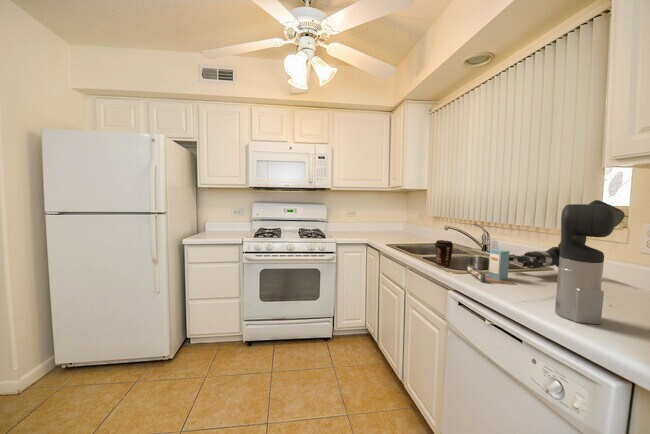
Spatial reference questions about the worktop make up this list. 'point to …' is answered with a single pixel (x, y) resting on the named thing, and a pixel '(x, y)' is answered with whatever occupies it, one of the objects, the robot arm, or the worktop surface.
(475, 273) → the shelf board
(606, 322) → the worktop surface
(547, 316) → the worktop surface
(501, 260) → the carton
